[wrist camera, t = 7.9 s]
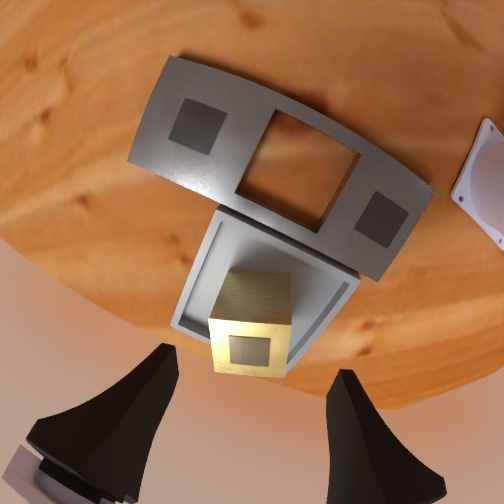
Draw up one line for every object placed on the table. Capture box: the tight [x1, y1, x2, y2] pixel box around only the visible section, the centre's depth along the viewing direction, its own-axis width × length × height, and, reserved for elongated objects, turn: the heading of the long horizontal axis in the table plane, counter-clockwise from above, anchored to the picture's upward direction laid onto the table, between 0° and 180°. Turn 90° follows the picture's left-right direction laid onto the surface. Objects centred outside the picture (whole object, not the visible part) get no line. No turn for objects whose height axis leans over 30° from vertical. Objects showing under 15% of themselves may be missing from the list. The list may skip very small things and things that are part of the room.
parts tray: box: [170, 204, 361, 374], centre depth 21 cm, size 11×11×2 cm
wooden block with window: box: [209, 269, 292, 378], centre depth 18 cm, size 5×5×6 cm
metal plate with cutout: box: [127, 56, 435, 282], centre depth 16 cm, size 20×8×1 cm, turn 65°
